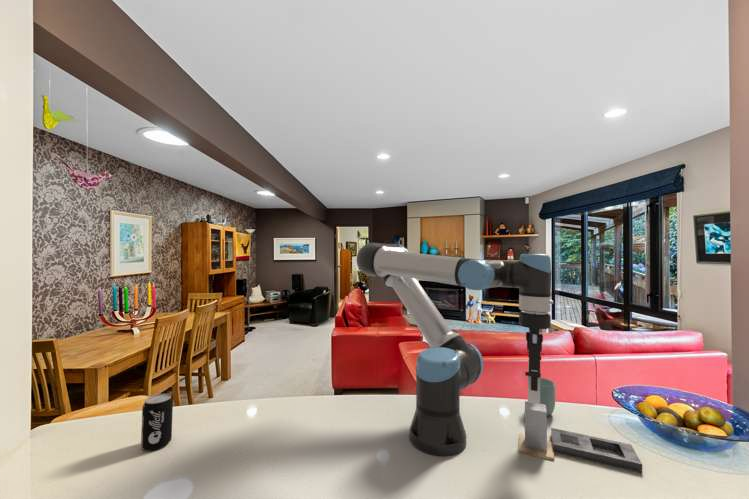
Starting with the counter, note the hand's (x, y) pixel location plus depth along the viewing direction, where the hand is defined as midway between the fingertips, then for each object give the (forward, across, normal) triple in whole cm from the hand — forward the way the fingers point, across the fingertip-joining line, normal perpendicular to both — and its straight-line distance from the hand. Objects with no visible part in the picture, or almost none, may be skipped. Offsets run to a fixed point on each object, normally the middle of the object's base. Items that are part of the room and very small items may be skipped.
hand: (533, 392), depth 84 cm
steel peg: (+14, 0, -1) cm, 14 cm away
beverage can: (+16, -44, +88) cm, 100 cm away
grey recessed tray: (+14, +4, -14) cm, 20 cm away
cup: (+14, +23, -3) cm, 27 cm away
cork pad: (+14, 0, -1) cm, 14 cm away
